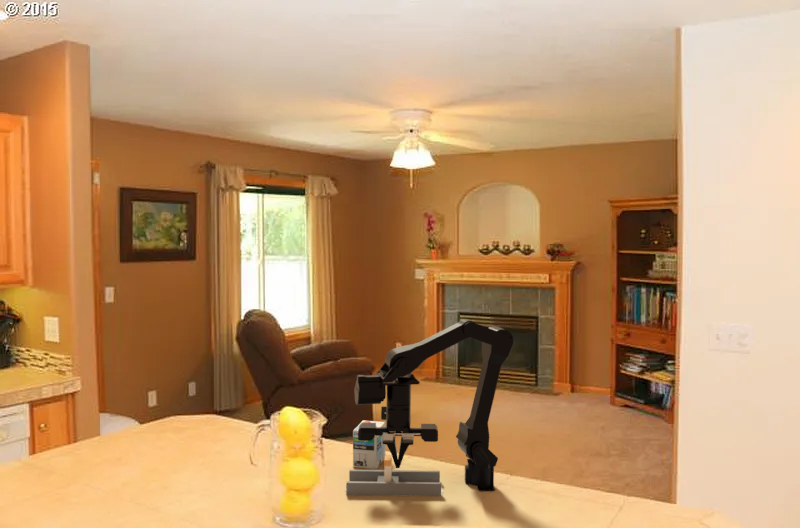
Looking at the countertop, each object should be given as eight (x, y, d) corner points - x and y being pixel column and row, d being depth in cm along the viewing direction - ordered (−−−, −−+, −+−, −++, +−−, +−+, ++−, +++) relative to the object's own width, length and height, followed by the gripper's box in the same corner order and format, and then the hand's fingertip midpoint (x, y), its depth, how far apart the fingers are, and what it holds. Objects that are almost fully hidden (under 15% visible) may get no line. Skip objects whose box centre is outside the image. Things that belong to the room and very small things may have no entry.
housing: (442, 481, 169) (442, 465, 169) (446, 507, 153) (446, 490, 153) (346, 480, 169) (347, 464, 169) (340, 505, 153) (340, 488, 153)
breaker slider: (398, 483, 164) (398, 453, 164) (398, 493, 158) (398, 461, 158) (377, 483, 164) (378, 453, 164) (376, 492, 158) (376, 461, 158)
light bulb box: (377, 473, 174) (377, 432, 174) (351, 471, 176) (352, 430, 175) (386, 460, 185) (386, 421, 184) (362, 458, 186) (362, 419, 186)
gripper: (436, 395, 168) (435, 457, 169) (361, 394, 168) (360, 455, 169) (438, 406, 157) (437, 473, 158) (358, 405, 157) (357, 471, 158)
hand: (397, 467), depth 161 cm, fingers closed
